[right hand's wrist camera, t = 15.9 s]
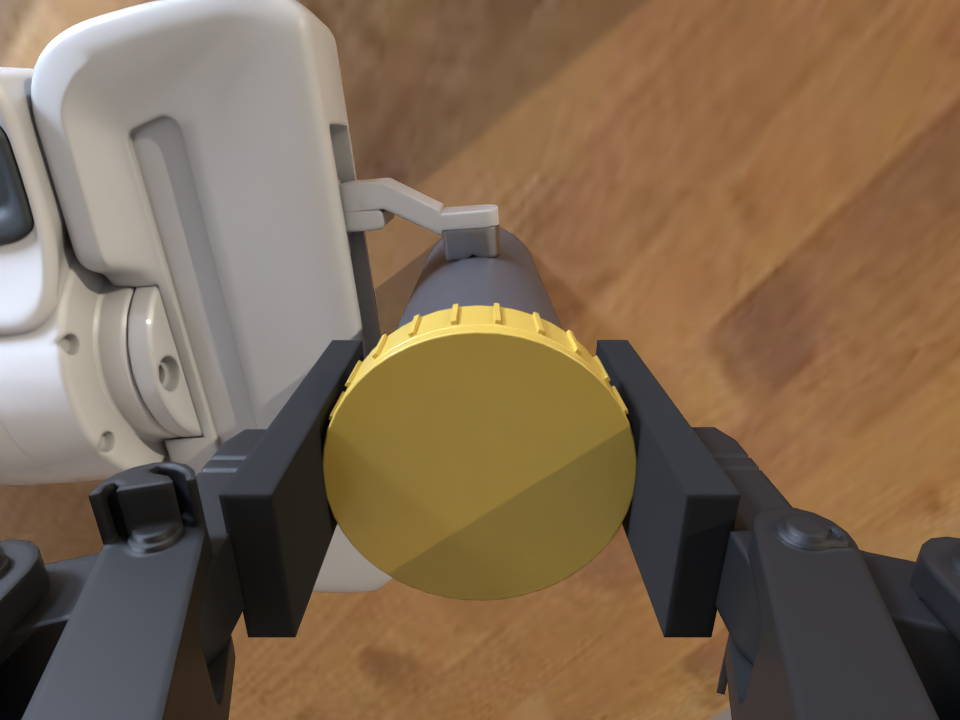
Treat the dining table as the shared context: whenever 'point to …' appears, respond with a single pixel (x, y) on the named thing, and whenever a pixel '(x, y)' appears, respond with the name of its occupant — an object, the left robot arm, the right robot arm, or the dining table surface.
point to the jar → (481, 283)
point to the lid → (479, 454)
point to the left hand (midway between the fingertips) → (505, 323)
